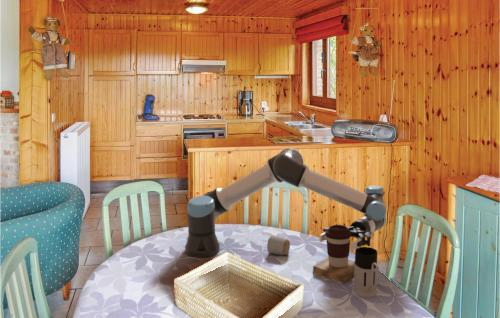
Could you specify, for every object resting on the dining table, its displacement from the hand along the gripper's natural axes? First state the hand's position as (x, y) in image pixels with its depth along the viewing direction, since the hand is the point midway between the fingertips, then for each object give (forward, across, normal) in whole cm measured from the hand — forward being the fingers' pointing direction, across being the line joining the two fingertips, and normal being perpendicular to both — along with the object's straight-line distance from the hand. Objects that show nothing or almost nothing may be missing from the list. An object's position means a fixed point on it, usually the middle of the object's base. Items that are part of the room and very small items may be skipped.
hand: (335, 242), depth 166 cm
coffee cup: (-3, 0, -10) cm, 11 cm away
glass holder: (+6, -17, -13) cm, 22 cm away
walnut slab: (-3, 0, -13) cm, 13 cm away
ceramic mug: (-4, +30, -13) cm, 33 cm away
